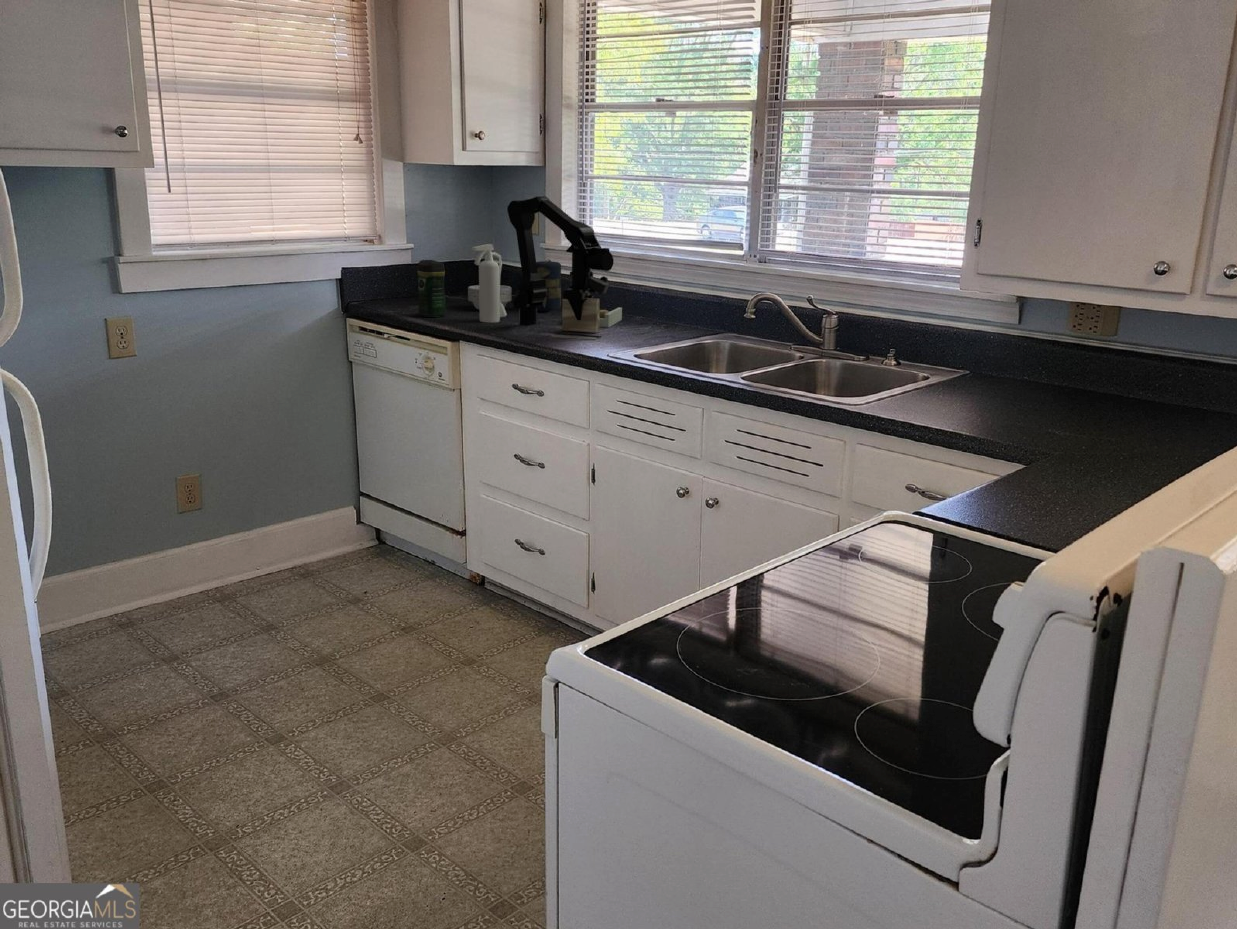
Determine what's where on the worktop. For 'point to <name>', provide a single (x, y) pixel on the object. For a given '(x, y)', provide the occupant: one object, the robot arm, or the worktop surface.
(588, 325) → the tan wooden block
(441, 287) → the coffee jar
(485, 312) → the fire extinguisher
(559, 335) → the grey mat
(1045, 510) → the worktop surface
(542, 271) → the canister
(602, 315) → the offcut stack
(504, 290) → the paper bowls
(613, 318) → the rack
